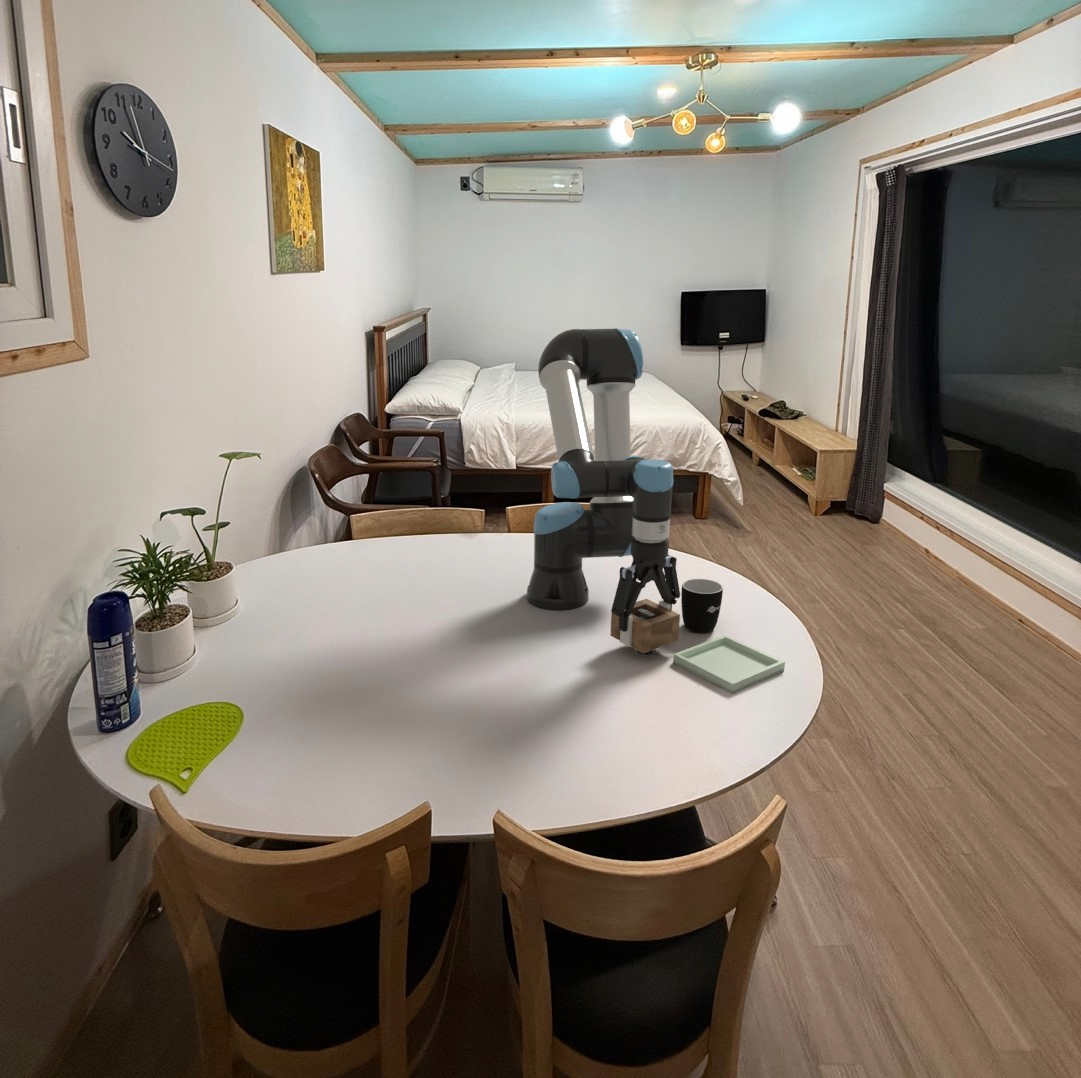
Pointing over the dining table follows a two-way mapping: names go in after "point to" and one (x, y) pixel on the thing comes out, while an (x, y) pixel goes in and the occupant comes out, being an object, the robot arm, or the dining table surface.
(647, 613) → the dark grey upright block
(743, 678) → the tray
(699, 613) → the mug
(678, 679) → the dining table surface
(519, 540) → the dining table surface
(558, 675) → the dining table surface
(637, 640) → the wooden open box
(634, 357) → the robot arm
